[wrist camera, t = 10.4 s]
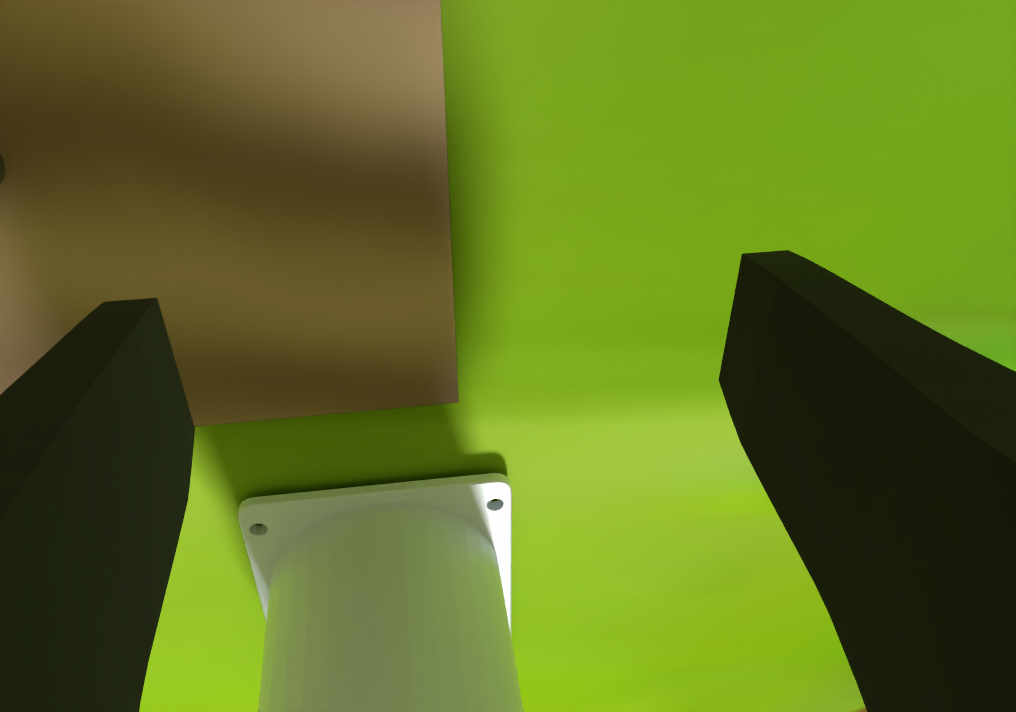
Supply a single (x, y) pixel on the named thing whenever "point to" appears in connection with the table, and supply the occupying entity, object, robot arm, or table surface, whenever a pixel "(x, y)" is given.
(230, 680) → the table surface
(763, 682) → the table surface
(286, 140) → the stake board
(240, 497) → the table surface
